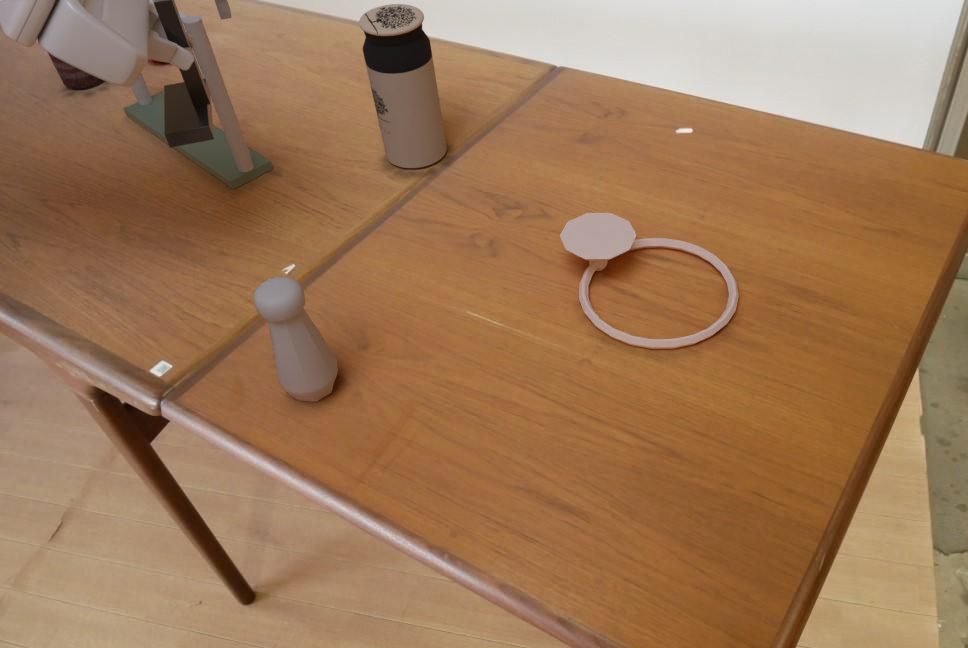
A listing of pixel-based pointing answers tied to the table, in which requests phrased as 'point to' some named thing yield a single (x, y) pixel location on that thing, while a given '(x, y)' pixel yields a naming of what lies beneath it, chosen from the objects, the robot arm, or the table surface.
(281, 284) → the salt shaker
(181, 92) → the hanger
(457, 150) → the table surface
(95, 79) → the can
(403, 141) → the travel mug
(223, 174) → the rack
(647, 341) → the hand towel holder
